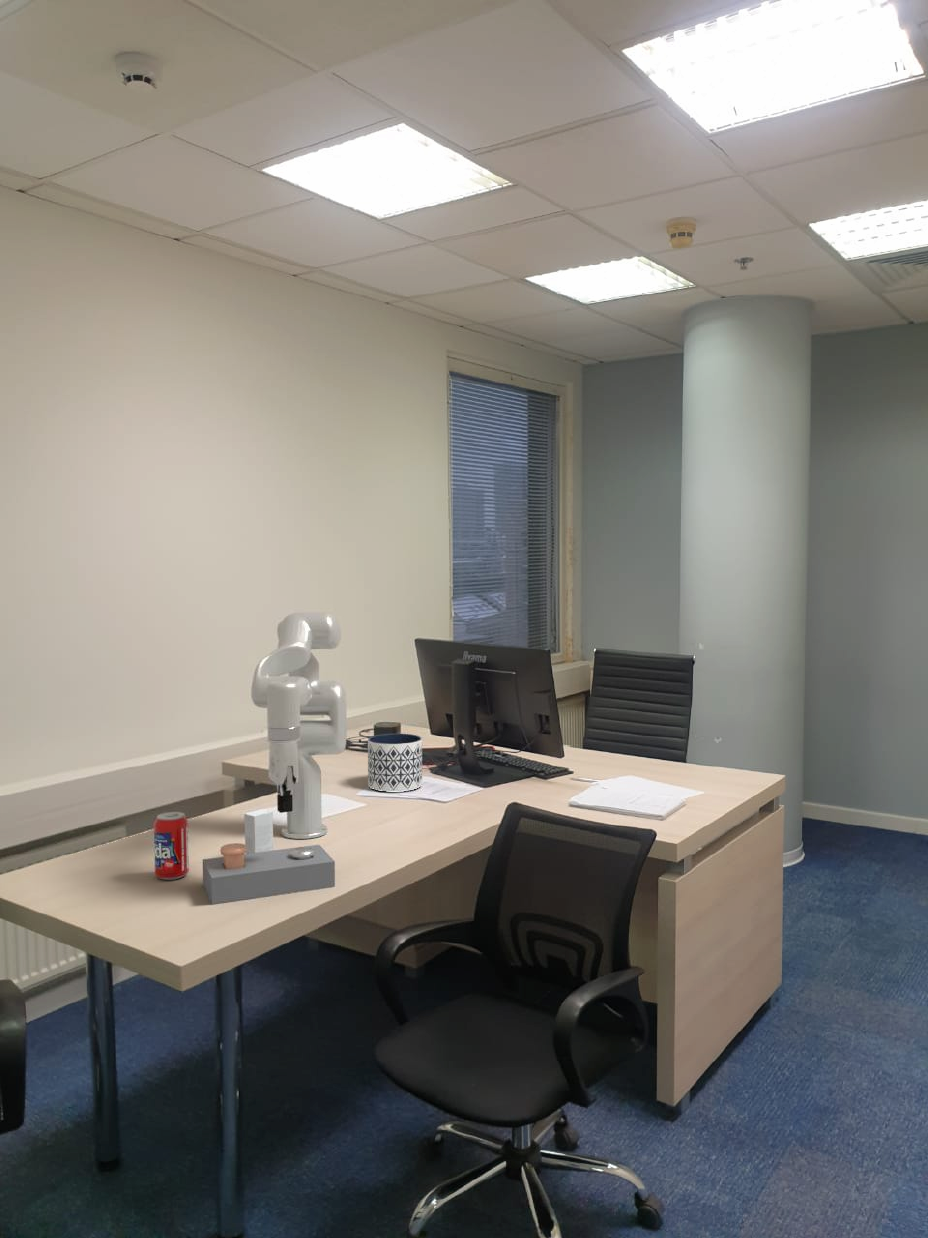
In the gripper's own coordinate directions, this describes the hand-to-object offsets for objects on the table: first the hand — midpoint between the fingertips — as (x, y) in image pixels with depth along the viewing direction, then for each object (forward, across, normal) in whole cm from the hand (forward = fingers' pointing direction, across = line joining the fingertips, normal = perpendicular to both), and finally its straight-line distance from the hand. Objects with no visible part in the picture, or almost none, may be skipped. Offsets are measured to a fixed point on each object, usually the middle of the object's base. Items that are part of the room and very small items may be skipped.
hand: (285, 811), depth 218 cm
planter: (+17, -77, +57) cm, 97 cm away
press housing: (+17, 0, -4) cm, 18 cm away
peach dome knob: (+13, -1, -12) cm, 18 cm away
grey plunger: (+16, 0, +4) cm, 17 cm away
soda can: (+18, -17, -24) cm, 34 cm away
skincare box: (+17, -21, -1) cm, 28 cm away
